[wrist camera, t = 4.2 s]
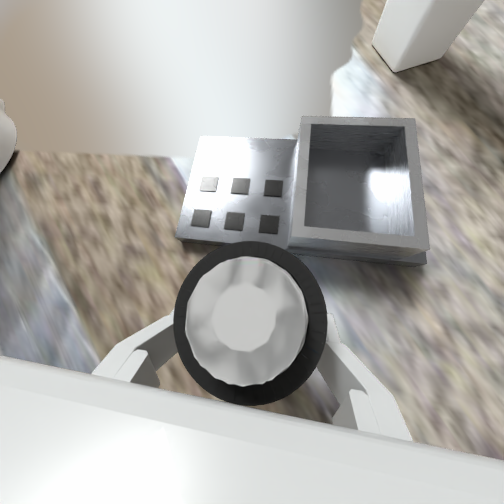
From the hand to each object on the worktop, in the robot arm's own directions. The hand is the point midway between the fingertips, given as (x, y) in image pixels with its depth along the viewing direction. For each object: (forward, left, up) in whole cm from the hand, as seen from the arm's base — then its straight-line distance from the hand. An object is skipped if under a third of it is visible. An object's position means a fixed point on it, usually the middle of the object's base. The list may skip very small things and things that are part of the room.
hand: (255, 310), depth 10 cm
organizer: (+2, +10, -5) cm, 12 cm away
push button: (0, -1, -6) cm, 6 cm away
